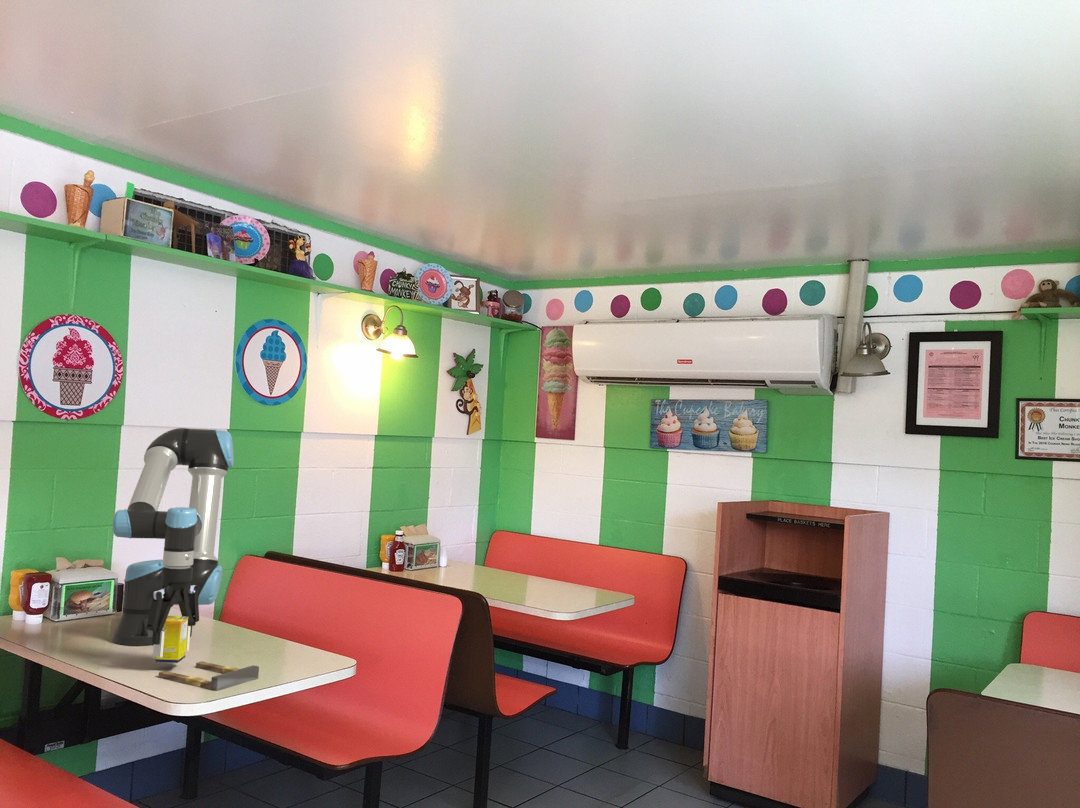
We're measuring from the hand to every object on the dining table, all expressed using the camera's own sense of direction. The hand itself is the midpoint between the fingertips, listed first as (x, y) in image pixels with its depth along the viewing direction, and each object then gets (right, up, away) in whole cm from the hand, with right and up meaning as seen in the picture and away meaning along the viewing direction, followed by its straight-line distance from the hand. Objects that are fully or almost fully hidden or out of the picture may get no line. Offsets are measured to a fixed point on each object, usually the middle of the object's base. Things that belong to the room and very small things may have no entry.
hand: (171, 653), depth 225 cm
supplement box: (0, -2, 0) cm, 2 cm away
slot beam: (+11, -4, -6) cm, 14 cm away
